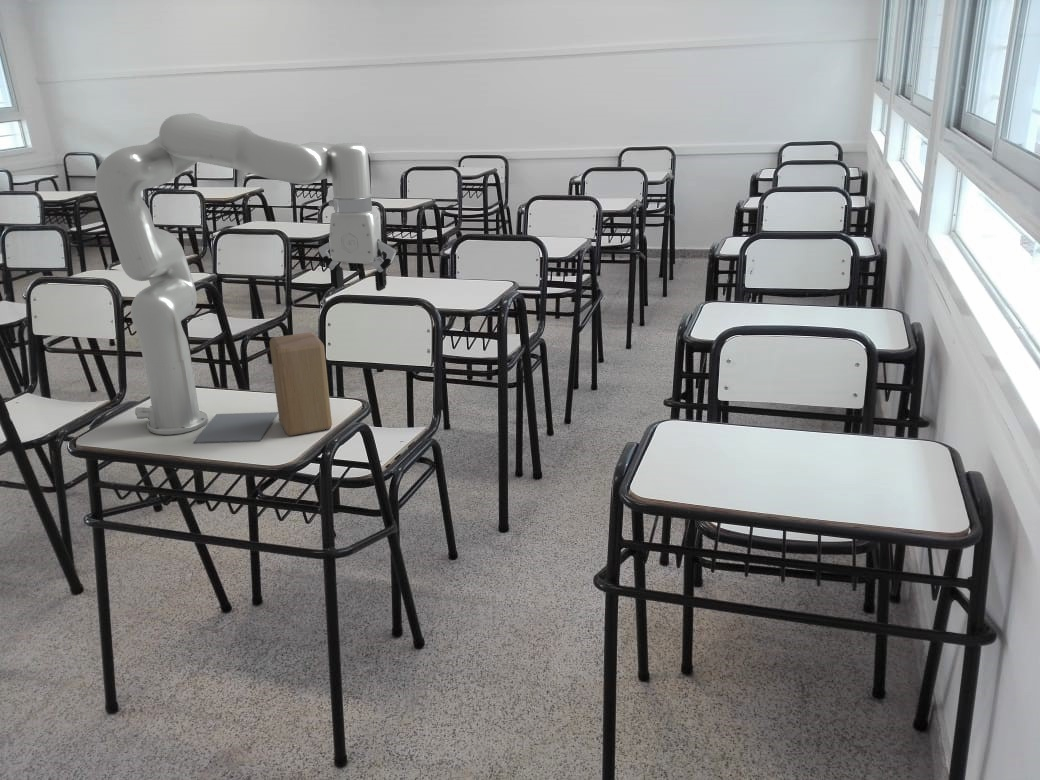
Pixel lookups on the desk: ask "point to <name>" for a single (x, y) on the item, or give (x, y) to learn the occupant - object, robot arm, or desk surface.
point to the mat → (236, 427)
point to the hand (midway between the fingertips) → (359, 288)
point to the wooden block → (301, 383)
